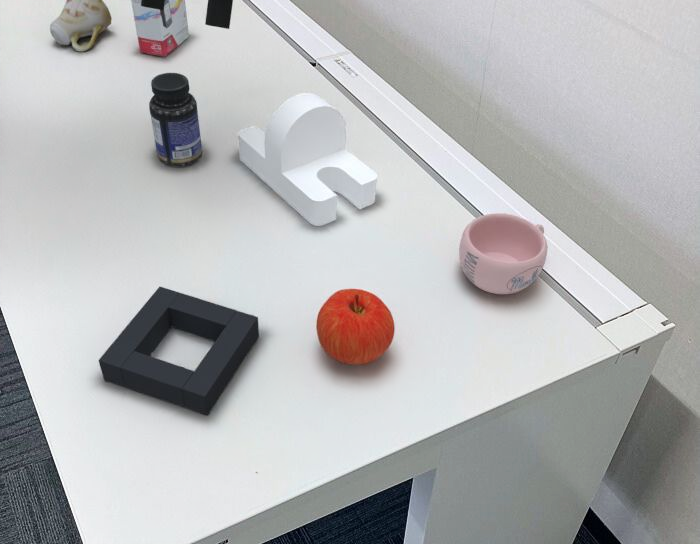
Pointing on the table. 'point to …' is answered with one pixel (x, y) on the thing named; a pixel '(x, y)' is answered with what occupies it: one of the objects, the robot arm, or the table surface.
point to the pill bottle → (175, 120)
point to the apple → (355, 326)
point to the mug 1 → (80, 22)
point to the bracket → (308, 159)
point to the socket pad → (171, 380)
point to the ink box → (160, 26)
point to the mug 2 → (502, 252)
